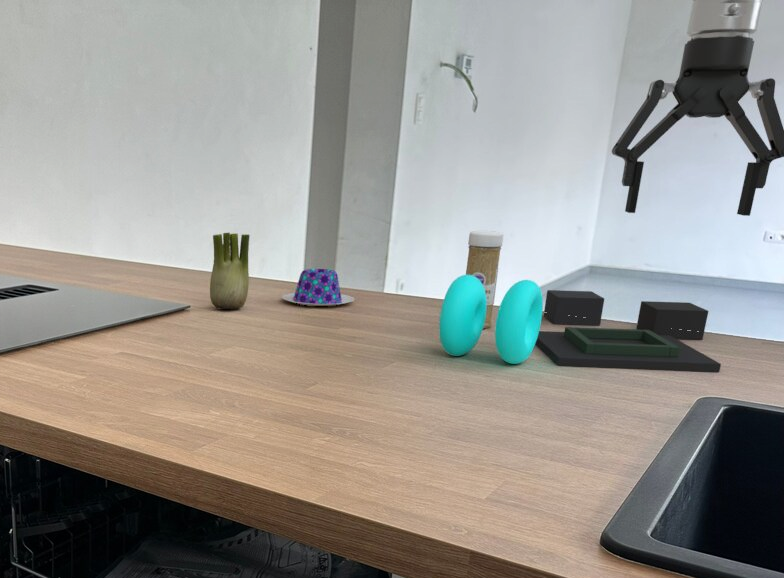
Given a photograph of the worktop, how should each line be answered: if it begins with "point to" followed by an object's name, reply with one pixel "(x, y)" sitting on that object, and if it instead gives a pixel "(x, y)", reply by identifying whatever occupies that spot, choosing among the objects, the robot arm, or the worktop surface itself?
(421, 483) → the worktop surface
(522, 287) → the donuts
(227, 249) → the fennel bulb
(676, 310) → the black rectangular block
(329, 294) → the pudding
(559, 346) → the base mat
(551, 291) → the graphite pad
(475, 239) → the sprinkles bottle
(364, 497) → the worktop surface
